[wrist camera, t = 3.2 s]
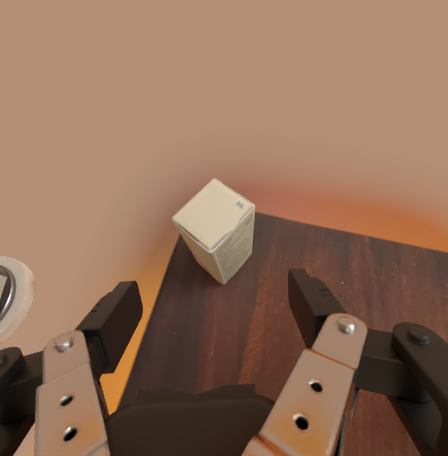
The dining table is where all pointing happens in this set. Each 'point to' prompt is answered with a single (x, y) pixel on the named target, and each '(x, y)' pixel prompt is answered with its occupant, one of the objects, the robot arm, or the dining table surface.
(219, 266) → the box
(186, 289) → the dining table surface
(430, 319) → the dining table surface
